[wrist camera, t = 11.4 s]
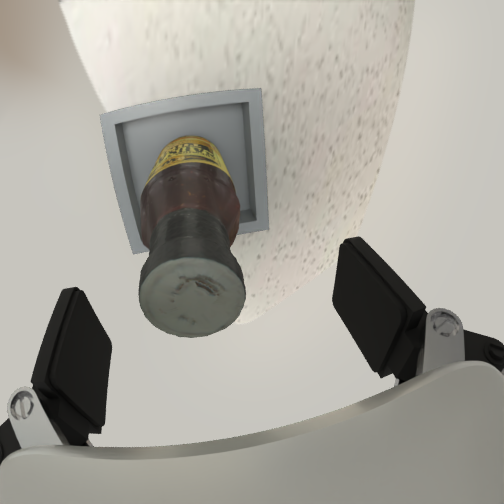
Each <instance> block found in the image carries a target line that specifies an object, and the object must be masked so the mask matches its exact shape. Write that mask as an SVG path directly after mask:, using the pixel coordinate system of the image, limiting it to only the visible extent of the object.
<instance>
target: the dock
mask: <svg viewBox="0 0 504 504" xmlns="http://www.w3.org/2000/svg"><path fill="white" fill-rule="evenodd" d="M100 120H101V126H102V132H103V137H104V143H105V148H106V153H107V158H108V162H109V167H110V171H111V176H112V180H113V184H114V189H115V192H116V197H117V200H118V204H119V208H120V212H121V215H122V219H123V222H124V226H125V229H126V233H127V236H128V239H129V242H130V246H131V249H132V252H133V254H137V253H142V252H148V251H150V250H149V249H148V248H147V247H145V246H144V245H143V242H142V236H141V215H140V199H141V194H142V191H143V189H144V187H145V184H146V182H147V180H148V177H149V175H150V173H151V171H152V169H153V167H154V165H155V163H156V161H157V159H158V157H159V155H160V153H161V151H162V150H163V148H164V147H165V146H166V145H167V144H168V143H170V142H171V141H173V140H175V139H177V138H179V137H183V136H200V137H203V138H205V139H207V140H208V141H210V142H211V143H213V144H214V145H215V146H216V148H217V149H218V151H219V152H220V154H221V156H222V159H223V161H224V163H225V166H226V168H227V170H228V172H229V174H230V177H231V179H232V181H233V184H234V187H235V190H236V196H237V197H238V199H239V202H240V218H239V230H238V233H237V235H240V234H245V233H251V232H257V231H263V230H269V218H268V196H267V176H266V157H265V139H264V122H263V106H262V91H261V88H254V89H239V90H227V91H218V92H209V93H201V94H194V95H187V96H181V97H175V98H169V99H164V100H158V101H153V102H149V103H144V104H140V105H135V106H131V107H127V108H123V109H119V110H115V111H112V112H108V113H104V114H101V115H100Z"/></svg>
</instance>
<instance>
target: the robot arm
mask: <svg viewBox="0 0 504 504" xmlns="http://www.w3.org/2000/svg"><path fill="white" fill-rule="evenodd" d="M332 302H333V306H334V308H335V309H336V311H337V313H338V314H339V316H340V317H341V319H342V321H343V322H344V324H345V325H346V327H347V328H348V330H349V332H350V334H351V335H352V337H353V339H354V340H355V342H356V344H357V345H358V347H359V349H360V350H361V352H362V354H363V355H364V357H365V359H366V360H367V362H368V364H369V366H370V367H371V369H372V370H373V371H374V372H377V373H378V374H379V376H380V378H383V377H385V376H388V375H390V374H392V373H393V374H394V376H395V378H396V380H395V385H394V387H393V388H391V389H389V390H386V391H384V392H381V393H379V394H377V395H374V396H372V397H369V398H367V399H364V400H362V401H360V402H357V403H354V404H352V405H349V406H346V407H344V408H341V409H338V410H335V411H333V412H329V413H326V414H323V415H320V416H317V417H314V418H311V419H307V420H304V421H301V422H297V423H294V424H290V425H286V426H283V427H279V428H275V429H271V430H266V431H262V432H258V433H253V434H248V435H243V436H238V437H233V438H227V439H221V440H214V441H207V442H201V443H200V442H199V443H192V444H182V445H170V446H158V447H157V446H156V447H94V446H93V445H92V443H91V442H90V441H89V439H88V435H89V433H93V434H101V430H102V426H104V424H105V415H106V400H107V387H108V377H109V369H110V360H111V353H112V343H111V340H110V338H109V337H108V335H107V333H106V332H105V330H104V328H103V326H102V325H101V323H100V321H99V319H98V317H97V316H96V314H95V312H94V310H93V309H92V306H91V305H90V303H89V301H88V299H87V297H86V295H85V293H84V291H82V290H79V288H78V287H73V288H67V289H63V290H62V292H61V294H60V296H59V299H58V301H57V304H56V306H55V308H54V311H53V314H52V316H51V319H50V321H49V324H48V327H47V330H46V333H45V335H44V338H43V341H42V344H41V347H40V351H39V354H38V357H37V360H36V364H35V367H34V371H33V374H32V378H31V383H32V384H33V387H32V389H31V388H30V387H21V388H19V389H17V390H16V391H15V392H14V393H13V394H12V395H11V397H10V399H9V402H8V406H7V412H8V416H9V418H8V419H7V420H6V421H5V422H4V423H3V424H2V425H1V426H0V504H504V345H503V344H502V343H501V342H500V341H499V340H497V339H494V338H491V337H488V336H484V335H481V334H477V333H474V332H470V331H467V330H463V326H462V322H461V320H460V319H459V317H458V316H457V315H456V314H454V313H453V312H451V311H450V310H447V309H443V308H436V309H433V310H431V311H430V312H429V313H427V312H426V311H425V309H426V306H425V305H424V304H423V302H422V301H421V300H420V299H419V298H418V297H417V296H416V295H415V293H414V292H413V291H412V290H411V289H410V288H409V287H408V286H407V285H406V283H405V282H404V281H403V280H402V279H401V278H400V277H399V276H398V275H397V274H396V273H395V272H394V271H393V269H392V268H391V267H390V266H389V265H388V264H387V263H386V262H385V261H384V260H383V259H382V258H381V257H380V256H379V255H378V254H377V253H376V252H375V251H374V250H373V249H372V248H371V247H370V246H369V245H368V244H367V243H366V242H365V241H364V240H363V239H362V238H361V237H353V238H348V239H345V240H344V242H343V244H341V245H340V248H339V256H338V263H337V270H336V277H335V284H334V290H333V297H332Z"/></svg>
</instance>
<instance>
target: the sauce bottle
mask: <svg viewBox="0 0 504 504" xmlns="http://www.w3.org/2000/svg"><path fill="white" fill-rule="evenodd" d="M140 215H141V236H142V242H143V245H144V246H145V247H147V248H148V249H149V250H150V252H149V257H148V258H147V260H146V262H145V264H144V265H143V267H142V270H141V275H140V283H139V302H140V306H141V309H142V311H143V312H144V315H145V317H146V318H147V319H148V320H149V321H150V322H151V323H152V324H153V325H154V326H155V327H157V328H158V329H160V330H162V331H164V332H166V333H168V334H172V335H176V336H178V337H189V338H194V337H203V336H208V335H211V334H213V333H216V332H218V331H220V330H223V329H225V328H227V327H228V326H229V325H231V324H232V323H233V322H234V321H235V320H236V319H237V318H238V316H239V315H240V312H241V310H242V308H243V306H244V302H245V299H246V290H245V288H246V287H245V285H244V279H243V273H242V270H241V267H240V265H239V264H238V262H237V260H236V258H235V257H234V256H233V254H232V253H231V250H230V247H231V245H232V244H233V242H234V240H235V237H236V235H237V233H238V230H239V218H240V202H239V199H238V197H237V196H236V190H235V187H234V184H233V181H232V179H231V177H230V174H229V172H228V170H227V168H226V166H225V163H224V161H223V159H222V156H221V154H220V152H219V151H218V149H217V148H216V146H215V145H214V144H213V143H211V142H210V141H208V140H207V139H205V138H203V137H200V136H183V137H179V138H177V139H175V140H173V141H171V142H170V143H168V144H167V145H166V146H165V147H164V148H163V150H162V151H161V153H160V155H159V157H158V159H157V161H156V163H155V165H154V167H153V169H152V171H151V173H150V175H149V177H148V180H147V182H146V184H145V187H144V189H143V191H142V194H141V199H140Z"/></svg>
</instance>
